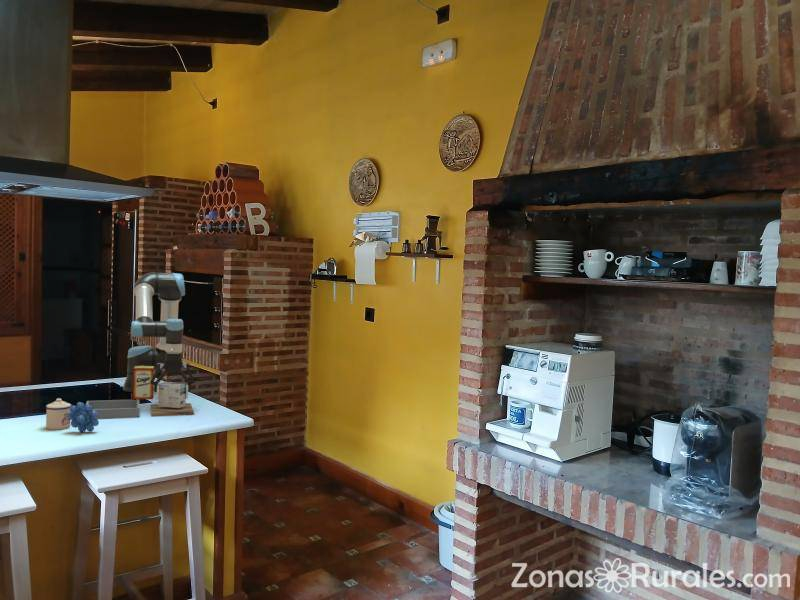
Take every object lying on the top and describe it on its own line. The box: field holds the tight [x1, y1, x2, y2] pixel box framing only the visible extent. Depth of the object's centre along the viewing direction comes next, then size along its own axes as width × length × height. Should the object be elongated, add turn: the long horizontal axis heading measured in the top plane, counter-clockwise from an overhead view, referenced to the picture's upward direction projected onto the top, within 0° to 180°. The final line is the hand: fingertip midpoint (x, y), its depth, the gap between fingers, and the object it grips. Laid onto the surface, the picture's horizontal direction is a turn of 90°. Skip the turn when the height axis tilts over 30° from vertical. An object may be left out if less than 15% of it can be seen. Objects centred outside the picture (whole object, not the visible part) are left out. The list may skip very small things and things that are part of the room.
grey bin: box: [85, 399, 140, 420], centre depth 281 cm, size 19×22×4 cm
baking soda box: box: [131, 366, 155, 400], centre depth 315 cm, size 10×6×16 cm
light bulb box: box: [157, 381, 187, 408], centre depth 290 cm, size 11×7×11 cm, turn 84°
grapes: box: [67, 401, 100, 433], centre depth 247 cm, size 12×7×12 cm, turn 100°
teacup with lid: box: [45, 398, 72, 431], centre depth 255 cm, size 12×9×12 cm
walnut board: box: [150, 402, 195, 417], centre depth 291 cm, size 18×18×2 cm
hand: (172, 398), depth 290 cm, fingers closed on light bulb box, 12 cm apart
